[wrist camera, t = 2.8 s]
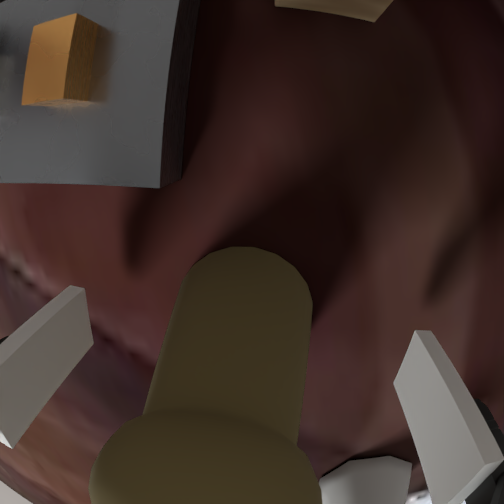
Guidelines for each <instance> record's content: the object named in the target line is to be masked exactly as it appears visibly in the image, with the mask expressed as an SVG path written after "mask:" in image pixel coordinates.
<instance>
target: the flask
mask: <svg viewBox="0 0 504 504" xmlns="http://www.w3.org/2000/svg"><path fill="white" fill-rule="evenodd" d="M411 469H412V463H409V462H406V461H403V460H401V459H398V458H395V457H392V456H384V457H377V458H370V459H361V460H351V461H348V462H347V463H345V464H344V465H342V466H340V467H339V468H337V469H335V470H334V471H332V472H331V473H329V474H327V475H325V476H324V477H322V478H320V481H319V486H320V488H321V492H322V504H405V502H406V497H407V492H408V487H409V482H410V476H411Z"/></svg>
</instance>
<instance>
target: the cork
mask: <svg viewBox="0 0 504 504" xmlns="http://www.w3.org/2000/svg"><path fill="white" fill-rule="evenodd" d="M312 307H313V302H312V298H311V295H310V291H309V288H308V285H307V283H306V282H305V280H304V279H303V278H302V276H301V275H300V273H299V272H298V271H297V269H296V268H295V267H294V266H293V265H291V264H290V263H288V262H287V261H285V260H284V259H283V258H281V257H280V256H278V255H277V254H274V253H271V252H268V251H265V250H262V249H259V248H256V247H229V248H225V249H222V250H219V251H216V252H212V253H209V254H208V255H207V256H205V257H204V258H203V259H201V260H200V261H198V262H197V263H196V264H194V265H193V266H192V268H191V269H190V271H189V272H188V274H187V275H186V277H185V278H184V279H183V281H182V284H181V287H180V290H179V293H178V296H177V299H176V302H175V305H174V308H173V312H172V315H171V318H170V321H169V324H168V328H167V331H166V334H165V337H164V341H163V344H162V347H161V351H160V354H159V358H158V361H157V364H156V368H155V371H154V375H153V378H152V382H151V386H150V389H149V393H148V396H147V400H146V404H145V408H144V411H143V415H142V416H139V417H137V418H134V419H132V420H129V421H127V422H125V423H124V424H123V425H122V426H121V427H120V428H119V429H118V430H117V431H116V432H115V433H114V434H113V435H112V436H111V437H110V439H109V440H108V441H107V443H106V444H105V445H104V447H103V448H102V449H101V451H100V453H99V455H98V457H97V459H96V461H95V462H94V464H93V466H92V469H91V475H90V481H89V488H88V489H89V494H90V499H91V503H92V504H322V492H321V488H320V486H319V483H318V481H317V478H316V476H315V473H314V471H313V468H312V466H311V464H310V461H309V459H308V457H307V455H306V454H305V453H304V452H303V451H302V450H301V449H299V448H298V447H297V440H298V433H299V426H300V418H301V411H302V403H303V395H304V387H305V379H306V370H307V361H308V351H309V341H310V331H311V320H312Z"/></svg>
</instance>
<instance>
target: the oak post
mask: <svg viewBox="0 0 504 504" xmlns="http://www.w3.org/2000/svg"><path fill="white" fill-rule="evenodd" d="M392 2H393V0H275V6H278V7H288V8H297V9H305V10H313V11H320V12H326V13H332V14H337V15H343V16H348V17H353V18H357V19H362V20H366V21H371V22H375V21H376V20H377V19H378V18H379V17H380V15H381V14H382V13H383V12H384V11H385V10H386V8H387V7H388V6H389V5H390V4H391V3H392Z"/></svg>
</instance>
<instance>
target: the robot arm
mask: <svg viewBox="0 0 504 504" xmlns="http://www.w3.org/2000/svg"><path fill="white" fill-rule="evenodd" d="M93 344H94V342H93V337H92V331H91V326H90V320H89V314H88V308H87V301H86V294H85V288H81V287H76V286H72V285H70V286H69V287H67V288H66V289H65V290H64V291H62V292H61V293H60V294H59V295H57V296H56V297H55V298H54V299H52V300H51V301H50V302H49V303H48V304H46V305H45V306H44V307H43V308H42V309H40V310H39V311H38V312H37V313H36V314H34V315H33V316H32V317H31V318H30V319H29V320H27V321H26V322H25V323H24V324H23V325H22V326H20V327H19V328H18V329H17V330H16V331H15V332H14V333H12V334H11V335H10V336H7V337H4V338H2V339H0V442H2V443H3V444H5V445H7V446H8V447H10V448H12V449H13V448H14V446H15V445H16V444H17V442H18V441H19V439H20V438H21V437H22V435H23V434H24V432H25V431H26V430H27V428H28V427H29V426H30V424H31V423H32V421H33V420H34V419H35V417H36V416H37V415H38V413H39V412H40V411H41V409H42V408H43V407H44V405H45V404H46V403H47V402H48V400H49V399H50V398H51V396H52V395H53V394H54V392H55V391H56V390H57V389H58V387H59V386H60V385H61V383H62V382H63V381H64V380H65V378H66V377H67V376H68V375H69V373H70V372H71V371H72V370H73V368H74V367H75V366H76V365H77V363H78V362H79V361H80V360H81V358H82V357H83V356H84V355H85V353H86V352H87V351H88V350H89V349H90V347H91V346H92V345H93ZM393 384H394V386H395V389H396V392H397V394H398V397H399V400H400V403H401V405H402V408H403V411H404V414H405V417H406V420H407V423H408V425H409V428H410V431H411V434H412V437H413V440H414V443H415V446H416V450H417V453H418V456H419V459H420V462H421V466H422V469H423V472H424V475H425V479H426V482H427V486H428V489H429V493H430V496H431V500H432V504H461V503H462V502H463V501H464V500H465V501H466V504H504V435H503V434H502V432H501V430H500V429H498V427H499V426H498V424H497V423H496V421H495V420H494V417H493V416H492V414H491V412H490V410H489V409H488V407H487V406H486V405H485V404H484V403H482V402H481V401H480V400H479V399H473V398H472V396H471V394H470V393H469V391H468V389H467V388H466V386H465V384H464V382H463V381H462V379H461V377H460V376H459V374H458V372H457V371H456V369H455V368H454V366H453V364H452V363H451V361H450V360H449V358H448V356H447V355H446V353H445V352H444V350H443V348H442V347H441V345H440V344H439V342H438V341H437V339H436V338H435V336H434V335H433V333H432V332H431V331H424V330H415V331H414V334H413V337H412V339H411V342H410V345H409V347H408V350H407V352H406V355H405V357H404V360H403V362H402V364H401V367H400V369H399V371H398V374H397V376H396V378H395V381H394V383H393Z"/></svg>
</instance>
